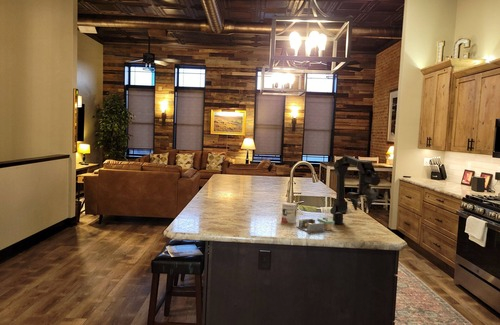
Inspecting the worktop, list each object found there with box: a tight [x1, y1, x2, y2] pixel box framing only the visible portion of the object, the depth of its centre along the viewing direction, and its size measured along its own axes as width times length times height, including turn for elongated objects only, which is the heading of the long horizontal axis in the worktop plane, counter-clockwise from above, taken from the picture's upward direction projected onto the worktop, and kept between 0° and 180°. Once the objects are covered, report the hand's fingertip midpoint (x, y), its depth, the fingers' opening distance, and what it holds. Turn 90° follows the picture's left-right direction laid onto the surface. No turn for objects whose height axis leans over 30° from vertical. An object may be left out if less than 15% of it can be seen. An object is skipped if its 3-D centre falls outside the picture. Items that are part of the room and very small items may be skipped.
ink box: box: [280, 202, 298, 224], centre depth 238 cm, size 9×5×12 cm, turn 68°
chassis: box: [296, 218, 326, 234], centre depth 220 cm, size 14×11×5 cm
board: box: [316, 216, 335, 225], centre depth 225 cm, size 9×6×2 cm, turn 24°
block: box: [324, 224, 333, 231], centre depth 226 cm, size 8×3×4 cm, turn 24°
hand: (362, 210), depth 215 cm, fingers open, 9 cm apart
